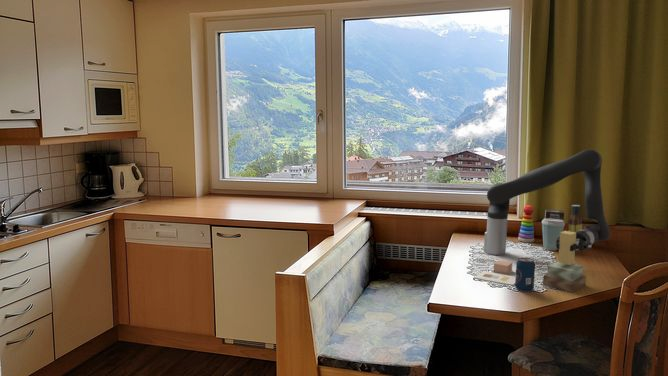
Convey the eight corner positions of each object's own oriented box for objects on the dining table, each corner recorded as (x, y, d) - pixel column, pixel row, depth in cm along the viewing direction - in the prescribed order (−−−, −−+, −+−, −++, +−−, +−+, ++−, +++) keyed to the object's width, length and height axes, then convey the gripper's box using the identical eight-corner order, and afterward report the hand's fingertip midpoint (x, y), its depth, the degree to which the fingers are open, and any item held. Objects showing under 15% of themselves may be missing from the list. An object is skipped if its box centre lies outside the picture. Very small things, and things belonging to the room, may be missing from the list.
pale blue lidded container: (543, 242, 297) (545, 211, 294) (542, 239, 303) (544, 209, 300) (562, 243, 294) (564, 212, 291) (561, 240, 300) (563, 210, 297)
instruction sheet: (474, 278, 237) (474, 277, 237) (483, 271, 246) (483, 270, 246) (513, 285, 228) (513, 284, 228) (521, 278, 237) (521, 277, 237)
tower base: (542, 285, 229) (544, 265, 228) (555, 278, 238) (557, 259, 236) (573, 292, 221) (574, 272, 220) (585, 285, 229) (586, 265, 228)
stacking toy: (535, 243, 294) (537, 207, 291) (518, 242, 295) (521, 206, 292) (533, 239, 302) (535, 204, 299) (517, 238, 303) (519, 203, 300)
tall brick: (558, 262, 228) (560, 232, 226) (562, 259, 231) (564, 230, 229) (569, 264, 225) (571, 234, 223) (574, 262, 228) (576, 232, 226)
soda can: (512, 286, 227) (513, 257, 225) (529, 286, 228) (531, 256, 226) (518, 292, 220) (520, 262, 218) (536, 292, 221) (538, 261, 219)
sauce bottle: (581, 243, 295) (584, 204, 292) (580, 245, 289) (583, 207, 286) (567, 241, 297) (570, 203, 294) (566, 244, 292) (569, 205, 289)
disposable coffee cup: (540, 245, 290) (542, 216, 288) (563, 247, 286) (565, 217, 284) (539, 250, 280) (541, 220, 278) (563, 252, 276) (565, 222, 274)
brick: (493, 272, 246) (493, 263, 245) (498, 269, 250) (498, 260, 250) (507, 275, 242) (507, 265, 242) (511, 271, 247) (512, 262, 246)
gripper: (564, 227, 241) (547, 235, 229) (600, 233, 231) (583, 241, 219) (563, 245, 242) (546, 253, 230) (598, 251, 233) (582, 260, 220)
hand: (564, 247), depth 225 cm, fingers closed on tall brick, 4 cm apart
